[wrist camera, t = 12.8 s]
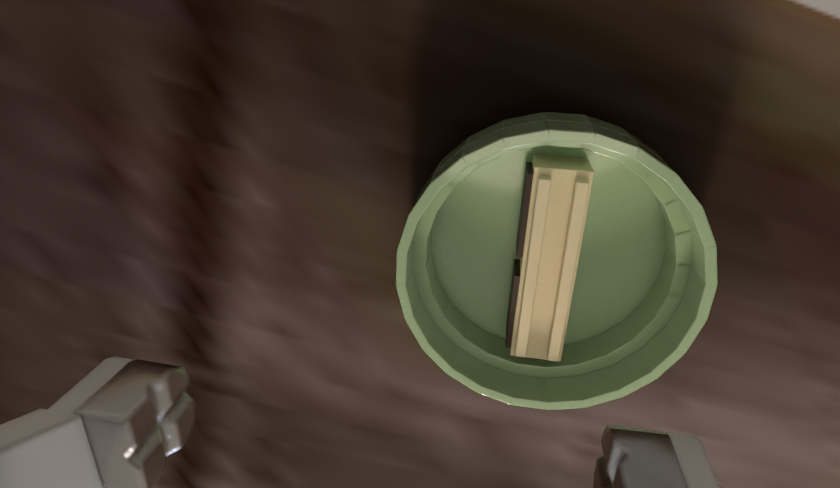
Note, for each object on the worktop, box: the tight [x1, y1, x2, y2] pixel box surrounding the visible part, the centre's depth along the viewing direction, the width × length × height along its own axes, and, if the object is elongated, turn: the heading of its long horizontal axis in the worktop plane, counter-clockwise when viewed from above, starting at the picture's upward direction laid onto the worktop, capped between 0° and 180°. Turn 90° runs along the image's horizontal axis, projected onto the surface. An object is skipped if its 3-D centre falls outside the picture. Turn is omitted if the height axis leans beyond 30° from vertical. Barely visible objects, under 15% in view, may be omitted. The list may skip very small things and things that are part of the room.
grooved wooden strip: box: [505, 154, 594, 362], centre depth 33 cm, size 12×4×4 cm, turn 178°
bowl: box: [396, 112, 717, 410], centre depth 32 cm, size 17×17×6 cm
